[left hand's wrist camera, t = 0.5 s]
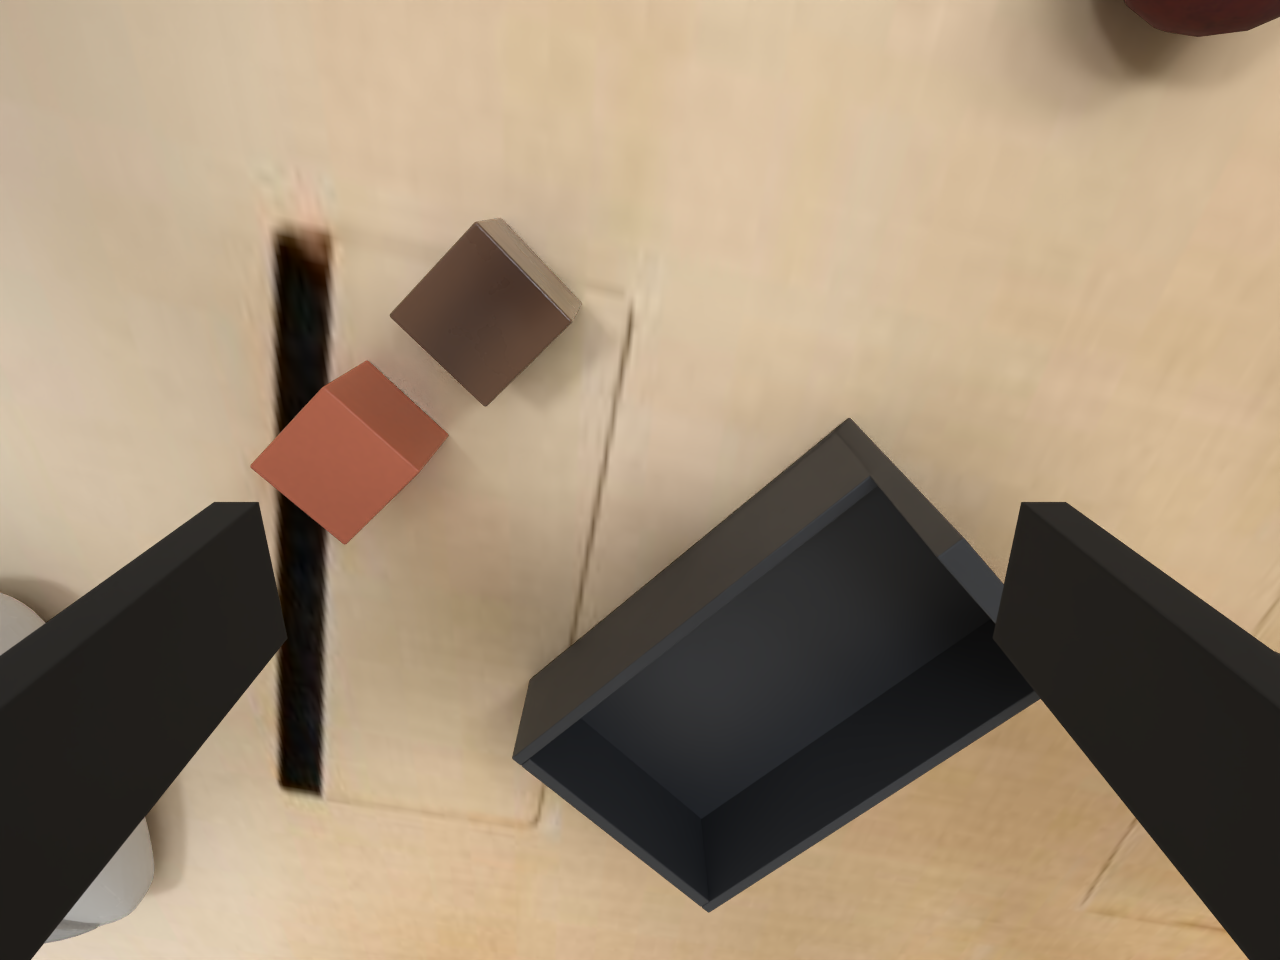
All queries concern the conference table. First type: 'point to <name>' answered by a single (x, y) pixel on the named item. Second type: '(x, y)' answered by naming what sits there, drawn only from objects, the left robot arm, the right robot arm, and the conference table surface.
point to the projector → (133, 863)
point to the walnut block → (487, 309)
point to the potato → (1205, 15)
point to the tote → (777, 676)
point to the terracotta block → (350, 450)
